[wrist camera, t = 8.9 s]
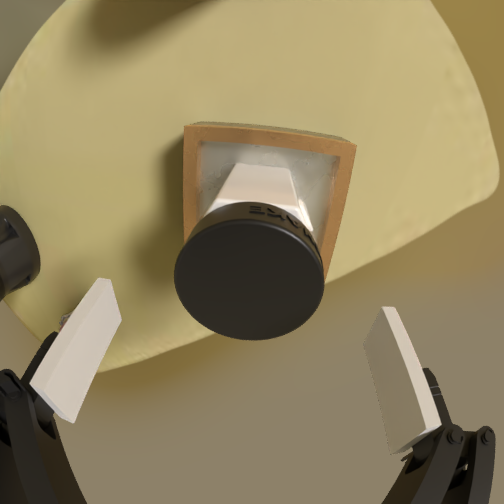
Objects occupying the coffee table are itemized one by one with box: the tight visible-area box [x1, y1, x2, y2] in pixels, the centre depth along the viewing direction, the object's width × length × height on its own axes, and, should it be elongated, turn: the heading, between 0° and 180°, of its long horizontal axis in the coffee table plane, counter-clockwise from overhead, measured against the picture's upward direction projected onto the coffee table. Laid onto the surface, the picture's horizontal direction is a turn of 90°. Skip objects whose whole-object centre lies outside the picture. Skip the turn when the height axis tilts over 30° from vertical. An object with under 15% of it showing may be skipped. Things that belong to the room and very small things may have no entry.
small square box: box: [183, 122, 357, 283], centre depth 26 cm, size 14×15×6 cm
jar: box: [174, 163, 324, 340], centre depth 19 cm, size 9×8×12 cm
